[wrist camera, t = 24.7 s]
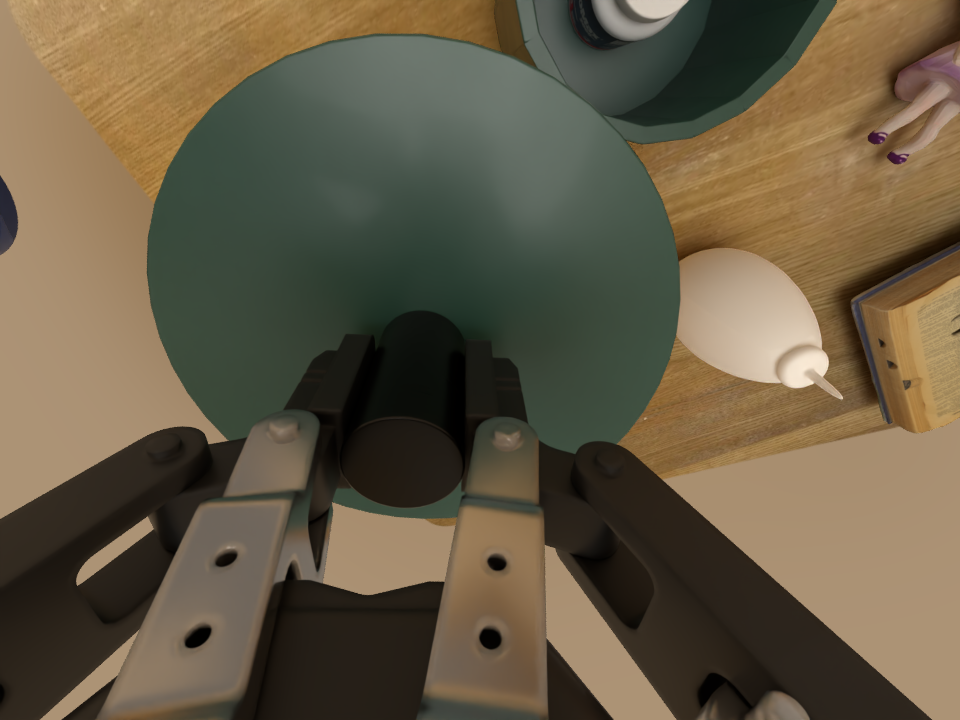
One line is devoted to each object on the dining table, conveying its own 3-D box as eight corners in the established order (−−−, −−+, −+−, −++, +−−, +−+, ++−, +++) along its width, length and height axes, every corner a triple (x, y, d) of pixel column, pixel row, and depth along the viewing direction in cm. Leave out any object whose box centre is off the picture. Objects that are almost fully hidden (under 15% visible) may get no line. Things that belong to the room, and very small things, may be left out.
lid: (234, 492, 18) (137, 656, 13) (81, 10, 10) (-354, -91, 5) (607, 502, 19) (662, 658, 14) (743, 66, 11) (1006, 34, 6)
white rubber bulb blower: (632, 256, 37) (754, 370, 21) (726, 215, 35) (931, 305, 20) (654, 330, 40) (772, 473, 25) (740, 296, 39) (922, 425, 23)
